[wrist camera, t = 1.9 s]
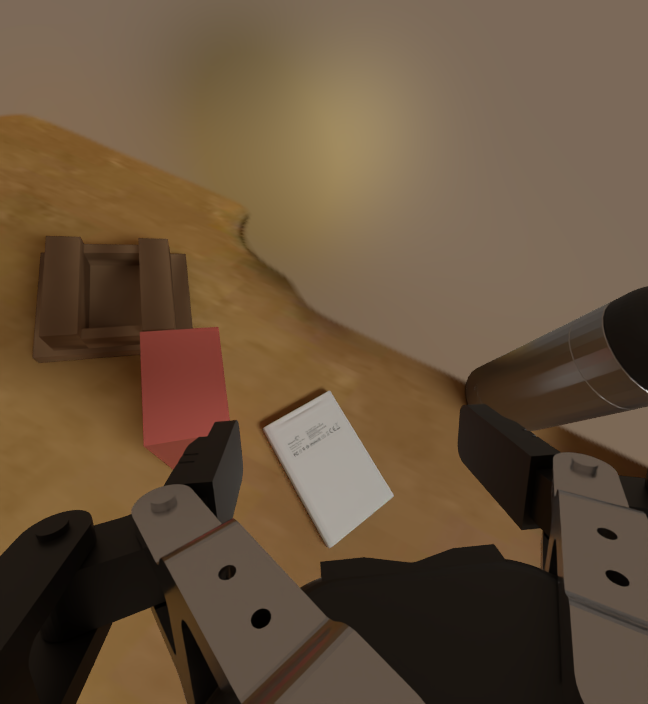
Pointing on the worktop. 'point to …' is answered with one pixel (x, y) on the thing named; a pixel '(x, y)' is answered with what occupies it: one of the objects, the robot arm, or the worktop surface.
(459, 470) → the worktop surface
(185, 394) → the salmon rectangular prism
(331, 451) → the external hard drive
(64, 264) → the rack
